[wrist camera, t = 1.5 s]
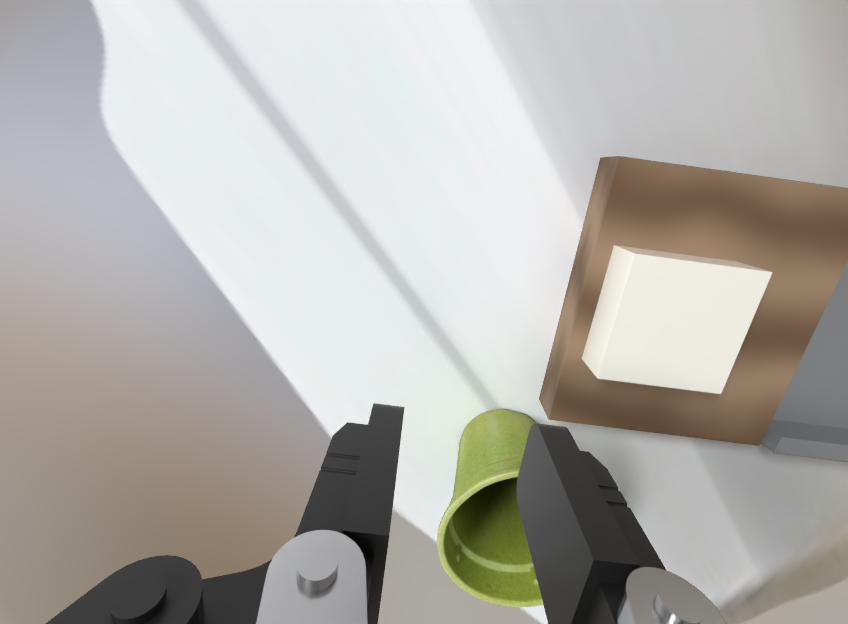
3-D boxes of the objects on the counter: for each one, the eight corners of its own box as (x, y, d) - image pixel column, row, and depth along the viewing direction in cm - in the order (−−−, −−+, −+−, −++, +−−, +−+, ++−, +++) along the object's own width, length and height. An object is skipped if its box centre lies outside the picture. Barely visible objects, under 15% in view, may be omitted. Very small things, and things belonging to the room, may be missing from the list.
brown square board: (600, 157, 23) (619, 156, 21) (836, 190, 24) (880, 192, 21) (539, 399, 29) (548, 419, 26) (732, 423, 29) (759, 445, 27)
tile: (614, 245, 22) (635, 253, 20) (737, 261, 23) (772, 272, 20) (581, 358, 25) (597, 378, 22) (693, 372, 25) (721, 394, 23)
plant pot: (411, 425, 30) (403, 523, 21) (526, 362, 28) (565, 443, 20) (477, 511, 32) (492, 628, 24) (586, 458, 30) (644, 566, 22)
